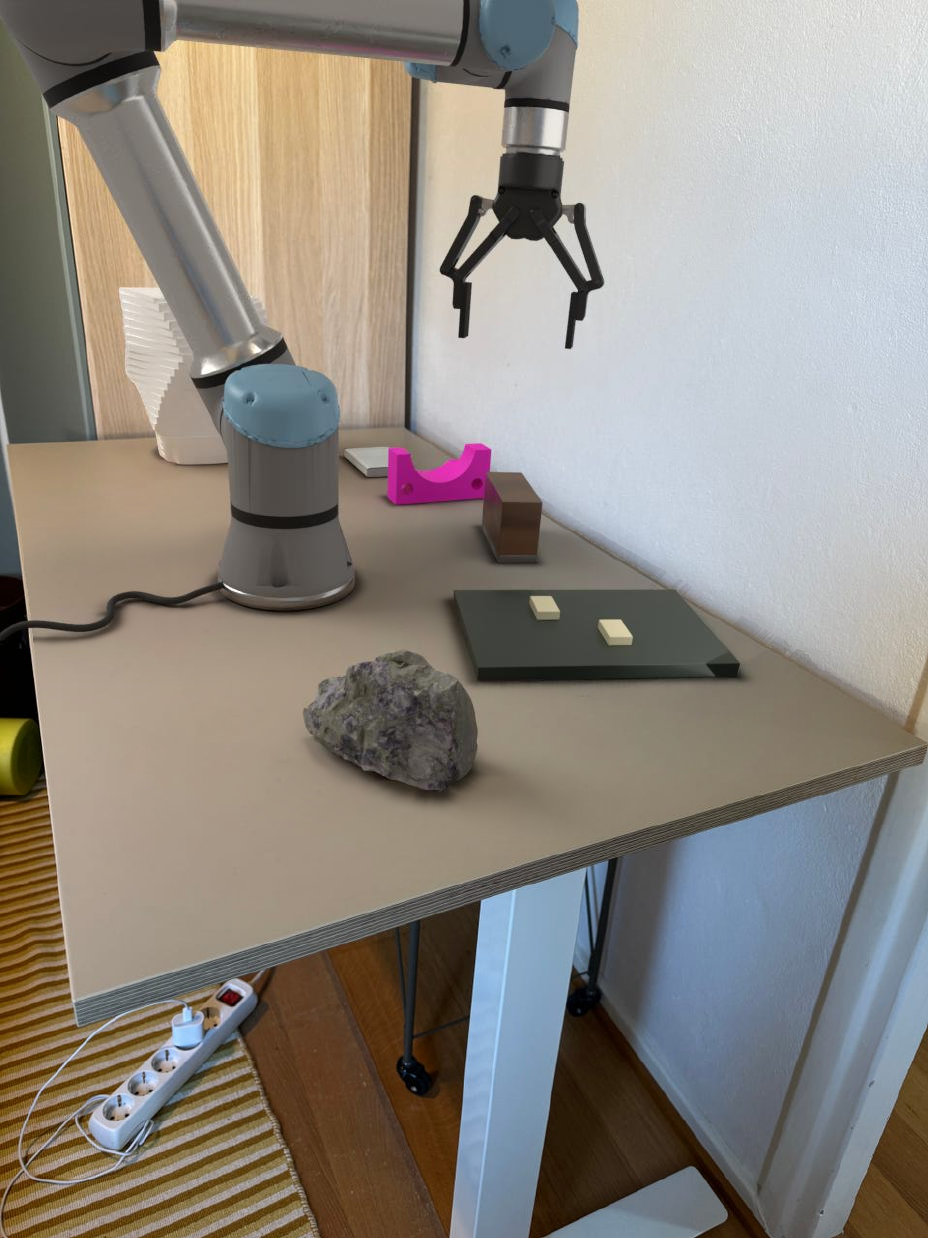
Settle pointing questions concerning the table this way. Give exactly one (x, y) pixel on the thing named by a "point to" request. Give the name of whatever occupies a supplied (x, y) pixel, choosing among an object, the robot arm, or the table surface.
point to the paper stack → (169, 378)
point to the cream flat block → (615, 632)
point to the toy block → (438, 477)
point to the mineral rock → (397, 720)
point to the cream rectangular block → (544, 608)
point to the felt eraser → (511, 517)
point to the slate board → (588, 636)
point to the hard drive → (369, 460)
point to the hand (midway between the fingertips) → (515, 342)
